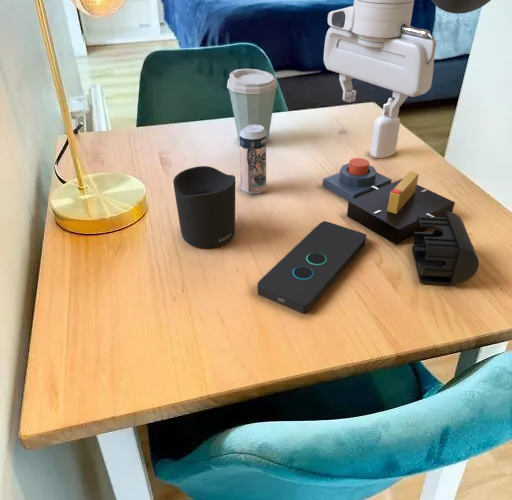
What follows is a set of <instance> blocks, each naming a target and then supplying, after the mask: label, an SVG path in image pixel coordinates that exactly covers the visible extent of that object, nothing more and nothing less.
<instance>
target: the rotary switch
mask: <svg viewBox="0 0 512 500" xmlns="http://www.w3.org/2000/svg"><path fill="white" fill-rule="evenodd" d="M402 179H403V178H401V179H398V180H396V181H393V182H391V184H388V185H386V186H384V187H381V188H377V187H375V186H372V187H373V188H375V189H377V190H374V191H372V192H369V193H367V194H365V195H362V196H360V197H357V198H355V199H353V200H350V201H348V200H347V201H348V203H347V210H346V217H347V218H349V219H351V220H352V221H354V222H355V223H358V224H359V225H360V226H363V227H364V228H366V229H368V230H370V231H371V232H373V233H375V234H376V235H378V236H380V237H381V238H383V239H384V240H387V241H388V242H390V243H392V244H393V245H395V246H398V245H399V244H401V243H403V242H405V241H408V240H410V239H411V238H413V236H414V232H425V231H427V230H429V229H428V228H420V226H416V222H417V217H418V216H424V217H445V213H446V211H447V212H452V213H454V208H455V205H456V204H455V203H456V202H455V201H454V200H451V199H449V198H447V197H445V196H442V195H440V194H439V193H437V192H434V191H432V190H430V189H428V188H426V187H423V186H421V185H419V184H417V185H416V190H415V192H414V194H413V195H412V196H411V197H410V198H409V200H408V201H407V202H406V203H405V204H404V206H403V207H402V208H401V209H400V210H399V211H398V213H397V214H395V213H391V212H388V211H387V209H388V203H389V197H390V192H391V191H392V190H393V189H394V188H395V187H396V186H397V185H398V184H399V183H400V182H401V180H402Z"/></svg>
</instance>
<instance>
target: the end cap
mask: <svg viewBox="0 0 512 500" xmlns="http://www.w3.org/2000/svg"><path fill="white" fill-rule="evenodd" d="M416 226H420V228H428V229H427V230H429V229H430V230H433V231H431V232H428V231H426V232H425V231H423V232H414V236H413V237H412V247H411V252H412V257H413V261H414V265H415V269H416V274H417V277H418V281H419V283H420V284H421V285H426V286H427V285H428V286H442V287H450V286H451V287H452V286H455V285H457V284H462V283H465V282H467V281H469V280H470V279H472V278H473V277H474V276H475V275H476V274H477V272H478V270H479V266H480V260H479V257H478V255H477V253H476V251H475V250H476V249H475V248H474V246H473V243H472V241H471V238H470V236H469V234H468V231H467V229H466V226H465V224H464V222H463V219H462V218H461V217H460V216H459V214H457V213H455V212H447V211H446V213H445V217H424V216H418V217H417V222H416Z"/></svg>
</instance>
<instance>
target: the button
mask: <svg viewBox="0 0 512 500" xmlns="http://www.w3.org/2000/svg"><path fill="white" fill-rule="evenodd" d="M348 163H349V170H348V172H349V173H350V174H352V175H358V176H360V175H366V174H368V169H369V165H370V161H369V160H368V159H367V158H361V157H354V158H351V159H349V161H348Z"/></svg>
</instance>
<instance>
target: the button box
mask: <svg viewBox="0 0 512 500" xmlns="http://www.w3.org/2000/svg"><path fill="white" fill-rule="evenodd" d="M348 170H349V162H348V163H346V164H343V165H341V167H340V169H339V172H337V173H334V174H332V175H329V176H327V177H324V178H323V179H322V188H324V189H326V190H327V191H330V192H331V193H333V194H335V195H337V196H339V197H341V198H342V199H344V200H345V201H350V200H353V199H355V198H357V197H360V196H362V195H365V194H367V193H369V192H372V191H374V190H377V189H375V188H373V187H372V186H375V187H377V188H381V187H384V186H386V185H388V184H391V183H392V178H391V177H387V176H385V175H383V174H381V173H379V172H378V171H377V170H376V168H375V167H374V166H373V165H370V164H369V169H368V174H366V175H360V176H358V175H352V174H350V173H349V172H348Z"/></svg>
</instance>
